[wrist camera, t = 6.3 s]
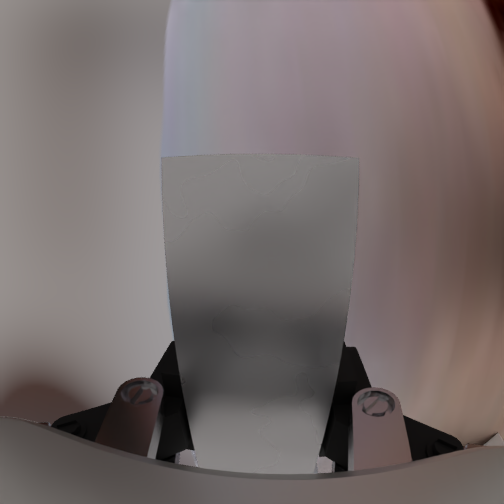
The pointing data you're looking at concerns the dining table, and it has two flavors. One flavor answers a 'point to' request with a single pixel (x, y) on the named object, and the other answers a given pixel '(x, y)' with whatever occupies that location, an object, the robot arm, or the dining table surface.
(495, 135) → the dining table surface
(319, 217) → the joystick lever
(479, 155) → the dining table surface
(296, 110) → the dining table surface
